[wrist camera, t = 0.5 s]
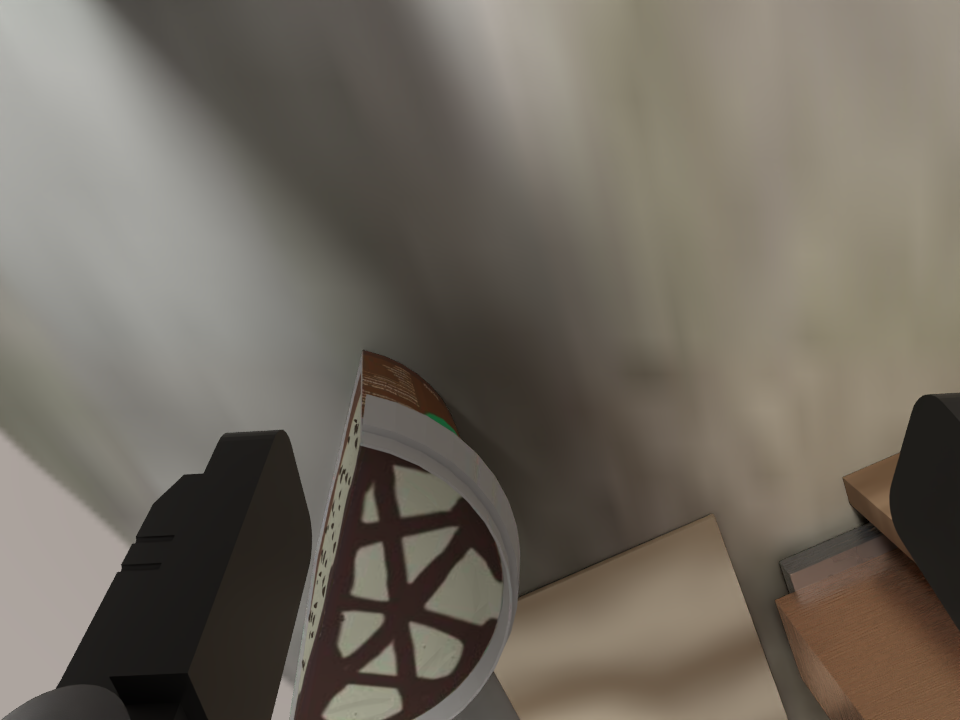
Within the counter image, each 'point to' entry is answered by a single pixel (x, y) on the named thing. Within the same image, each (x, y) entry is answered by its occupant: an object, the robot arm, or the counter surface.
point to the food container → (406, 563)
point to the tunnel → (875, 496)
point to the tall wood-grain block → (870, 631)
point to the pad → (642, 639)
